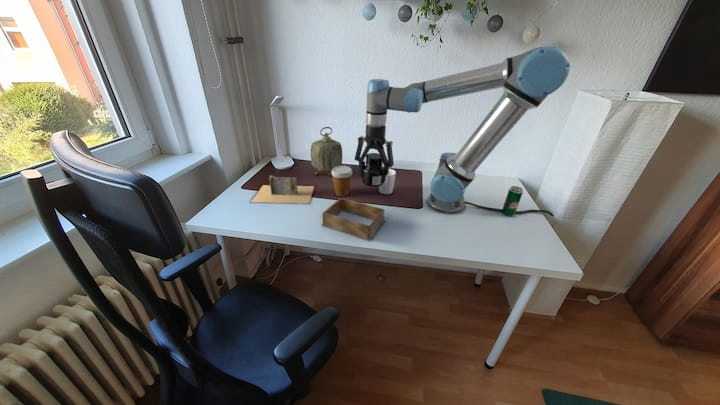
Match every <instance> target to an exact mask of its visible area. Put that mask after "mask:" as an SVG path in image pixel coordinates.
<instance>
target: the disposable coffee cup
mask: <svg viewBox="0 0 720 405" xmlns="http://www.w3.org/2000/svg"><path fill="white" fill-rule="evenodd" d="M330 172H331V174H332V175H331V176H332V180H333V187H334V194H335V195H336V196H337V197H340V198H344V197H347V196H349V195H350V188H351V182H352V175H353V173H354V172H353V170H352V168H351V167H349V166H346V165H341V166H337V167H334V168H333V169H332V170H330Z"/></svg>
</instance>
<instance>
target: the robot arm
mask: <svg viewBox="0 0 720 405" xmlns="http://www.w3.org/2000/svg"><path fill="white" fill-rule="evenodd" d="M570 68H571V65H570V60H569V57H568V55H567V54H566V53H565V52H564V51H562V50H561V48H558V47H555V46H552V45H545V46H538V47H534V48H532V49H530V50H528V51H525V52H522V53H520V54H517V55H514V56H511V57H507V58H505V59H504V60H503V61H502V62H500V63H496V64H492V65H487V66H482V67H478V68H475V69H471V70H465V71H463V72H458V73H455V74H450V75H449V74H448V75H445V76H441V77H437V78H433V79H432V78H431V79H429V80H426V81H421V82H413V83H410V84H409V85H407V86H405V87H396V86H390V81H389V80H388V79H384V78H373V79H370V80H368V82H367V89H366V112H365V113H366V114H365V116H366V117H365V124H366V125H365V136H363V135H360V136H359V137H357V146H356V151H355V155H354V161H357V162H358V170H360V175H359V176H360V178H359V179H363V168H364V166H366V155H367V154H369V152H370V150H376V151H377V153H378V154H380V157H381V159H382V162H383V164H382V165H383V168H382V182H381V183H384V182H385V181H386V175H388V172H389V169H392V167H393V166H394V165H395V164H394V162H395V161H394V154H393V143H394V142H393V141H392V140H386V131H387V130H386V128H387V126H386V125H387V116H388V110H389V111H397V112H406V113H419V112H420V111H421V109H422V106H423V104H428V103H431V102H436V101H442V100H446V99H452V98H456V97H457V98H458V97H461V96H467V95H471V94H476V93H482V92H487V91H492V90H498V89H501V88H502V94H501V95H500V97H499V98H498V100H497V101H496V103H495V104H494V105H493V106H492V107H491V109H490V110H489V111H488V113H487V114H486V115H485V116H484V118H483V119H482V120H481V122H480V123H479V124H478V126H477V127H476V128H475V129H474V131H473V132H472V133H471V135H469V137H468V138H467V139H466V141H465V142H464V143H463V145H462V146H461V148H460V149H459V150H458V151H457V152H443V153H441V154H440V158H439V162H438V167H437V168H436V171H435V173H434V176H433V177H432V179H431V181H430V186H429V188H430V192H431V193H430V194H429V196H428V199H427V204H428V206H429V207H430V208H432V209H433V210H435V211H437V212H440V213H444V214H457V213H460V212H462V211H463V210H464V208H465V205H469V206H473V207H476V208H480V209H483V210H489V211H495V212H502V209H503V208H502V209H501V208H496V207H489V206H483V205H480V204H479V205H478V204H475V203H472V202H469V201H465V196H464V194H465V191H466V189H467V187H468V186H469V185H470V184H471V183H472V182H473V181H474V180H475V178H476V171H477V169H478V168H479V167H480V166H481V165H482V164H483V163H484V162H485V160H486V159H487V158H488V156H490V154H491V153H492V152H493V151H494V150H495V148H496V147H497V146H498V145H499V144H500V143H501V142H502V141H503V139H504V138H505V137H506V136H507V135H508V134H509V133H510V131H512V129H513V128H514V127H515V125H516V124H517V123H518V122H519V121H520V120H521V119H522V117H523V116H525V114H526V113H527V112H528V111H530V110H533V109H537V108H538V107H539V106H540V105H541V104H542V103H543V102H544V101H545V100H546V98H547V97H548V96H550V95H551V94H554V92H556V91H558V89H560V88H561V87H562V86H563V85H564V83H565V82H566V81H567V79H568V76H569V74H570V71H571V70H570ZM364 143H366V146H365V148H364V150H363V146H364ZM384 145H385V147H386V151H385V147H384ZM362 150H363V151H362ZM526 213H546V214H549V215H550V216H551V217H555V215H554V214H553V213H552V212H551V211H549V210H545V209H526V210H516V213H515V214H526Z"/></svg>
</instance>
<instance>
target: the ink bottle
mask: <svg viewBox="0 0 720 405" xmlns="http://www.w3.org/2000/svg"><path fill="white" fill-rule="evenodd" d="M383 167H384V164H383V162H382V159H381V157H380V154H379V152H370V153H369V152H368V153H367V155H366V157H365V166H364V168H363V178H362V184H363V185H364V186H366V187H369V188H379V186H381V185H383V183H381V182H382V168H383Z"/></svg>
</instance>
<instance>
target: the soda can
mask: <svg viewBox="0 0 720 405" xmlns="http://www.w3.org/2000/svg"><path fill="white" fill-rule="evenodd" d="M523 194H524V189H523V188H522V187H521V186H517V185H511V186H510V188H508V191H507V194H506V197H505V200H504V203H503V205H502V211H501V213H502V214H503V215H504V216H507V217H513V216H515V215H516V214H517V213H516V211H518V207H519V205H520V202H521V199H522V197H523Z"/></svg>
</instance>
